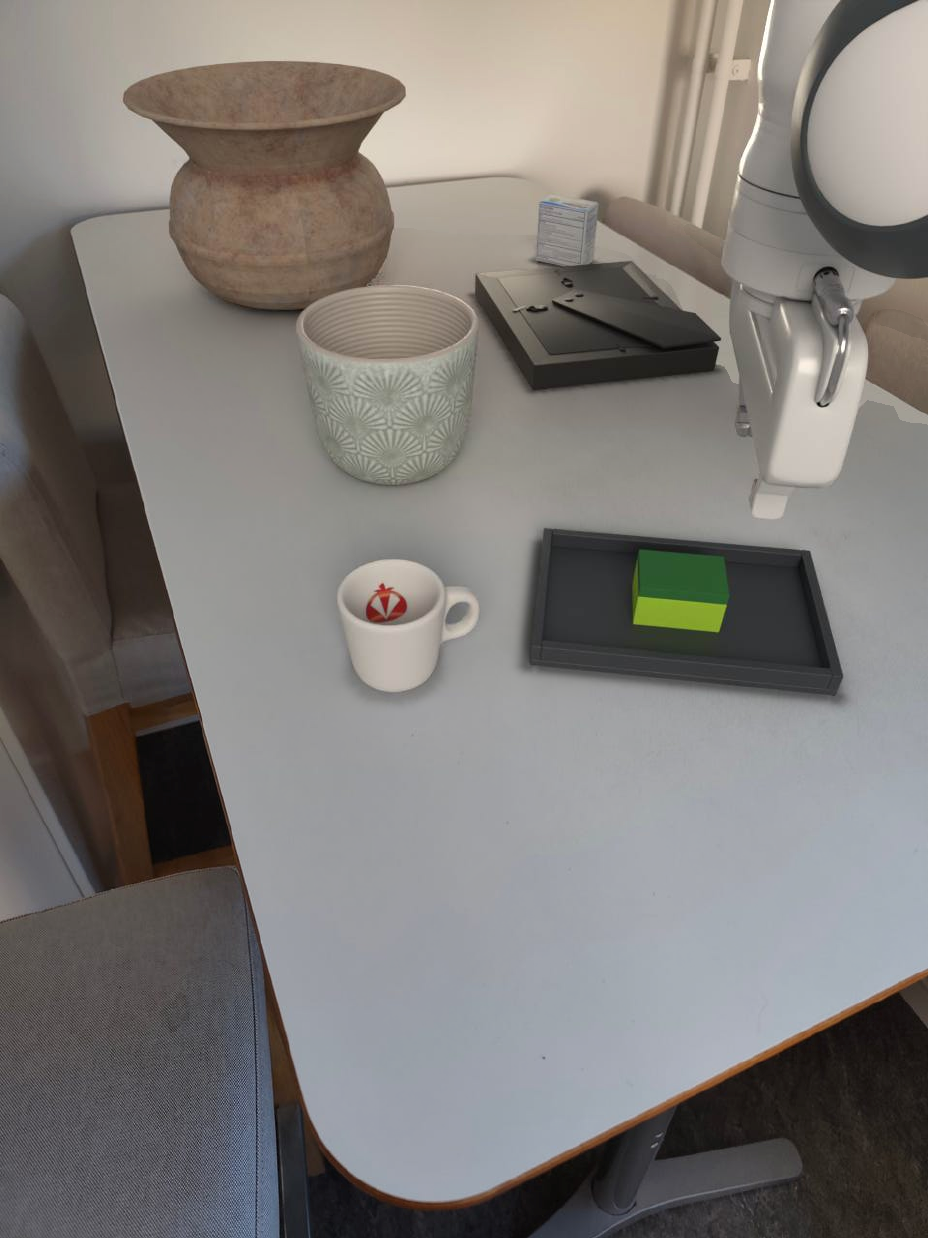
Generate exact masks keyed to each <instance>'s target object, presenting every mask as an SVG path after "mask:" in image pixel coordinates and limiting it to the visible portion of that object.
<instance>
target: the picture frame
mask: <svg viewBox="0 0 928 1238" xmlns="http://www.w3.org/2000/svg"><path fill="white" fill-rule="evenodd" d="M474 278H475V279H474V280H475V283H474V296H475V297H476V299H477V301H478V302H479V304H480V306H481V307H482V309H483V310H484V312H485V314H486V315H487V317H488V319H489V320H490V322H491V323H492V325H493V327H494V329H495V330H496V332H497V333H498V335H499V337H500V339H501V340H502V341H503V343H504V345H505V346H506V348H507V349H508V351H509V353H510V354H511V356H512V358H513V360H514V362H515V363H516V364H517V366H518V367H519V369H520V371H521V373H522V375H523V376H524V377H525V379H526V381H527V382H528V384H529V386H530V388H531V389H532V390H544V389H545V390H546V389H554V388H561V387H563V388H564V387H571V386H582V385H593V384H603V383H611V382H620V381H629V380H638V379H647V378H657V377H658V378H659V377H667V376H668V377H669V376H676V375H685V374H686V375H687V374H695V373H696V374H697V373H703V372H705V373H706V372H712V371H715V369H716V364H717V360H718V355H719V351H720V346H719V345H718V344H717V343H716V342H721V341H722V337H720V335H719V334H718V333H716V331H714V329H712V327H710V326H709V325H708V324H707V323H706V322H705V321H704V320H703V319H702V318H701V317H700V316H699V315H698V314H697V313H696V312H693V311H688V310H683V309H681V308H680V307H679V305H678V304H676V302H674V301H673V300H672V299H671V298H670V297H669V296H668V295H667V294H666V293H665V292H664V291H663V290H662V289H661V288H660V287H659V285H657V284H656V283H655V282H654V281H653V280H652V279H651V278H650V277H649V276H648V275H647V274H646V273H645V272H644V270H642V269H641V268H640V267H639V266H638V265H637V264H636V263H635V262H634V261H633V260H625V261H614V262H613V261H611V262H602V263H601V262H600V263H590V264H587V265H575V266H551V267H540V268H527V269H525V268H524V269H513V270H501V271H489V272H477V273H475V277H474Z"/></svg>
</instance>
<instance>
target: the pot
mask: <svg viewBox="0 0 928 1238" xmlns="http://www.w3.org/2000/svg"><path fill="white" fill-rule="evenodd" d="M406 96H407V90H406V86H405V85H404V84H403V83H402V82H401V80H400V79H397V78H396V77H394V76H392V75H390V74H388V73H384V72H381V71H378V70H376V69H370V68H366V67H362V66H361V67H360V66H355V65H350V64H349V65H348V64H342V63H331V62H320V61H303V60H302V61H301V60H299V61H298V60H261V61H260V60H259V61H239V62H238V61H237V62H226V63H214V64H207V65H198V66H193V67H187V68H180V69H175V70H171V71H166V72H162V73H158V74H155V75H152V76H148V77H146V78H142V79H141V80H139V81H137V82H135V83H133V84H130V85H129V87H128V88H126V89H125V90H124V92H123V95H122V102H123V104H124V105H125V107H126V108H127V110H129V111H131V112H132V113H135V114H136V115H138V116H140V117H142V118H145V119H148V120H151V121H152V122H153V123H154V124H156V125H157V126H158V128H159V129H161V130H162V131H163V133H165V134H166V135H167V136H168V137H169V138H170V139H171V140H173V142H175V143H176V144H177V145H178V146H179V147H180V148H181V149H182V150H183V151H184V152H185V153H186V155H187V157H188V159H187V160H186V161H185V162H184V163H183V164H182V165H181V167H179V169H178V171H177V172H176V174H175V175H174V178H173V181H172V183H171V186H170V187H171V188H170V195H169V220H168V233H169V237H170V238H171V239H172V241H173V242H174V244H175V246H176V249H177V252H178V254H179V256H180V258H181V260H182V262H183V264H184V266H185V267H186V269H187V271H188V272H189V273H190V274H191V276H192V277H193V278H194V279H195V281H197V282H198V284H199V285H200V286H202V287H203V288H205V289H206V290H207V291H209V292H210V293H212V294H213V295H215V296H216V297H218V298H220V299H221V300H224V301H226V302H230V303H233V304H236V305H239V306H243V307H248V308H253V309H257V310H258V309H259V310H267V311H268V310H269V311H295V310H304V309H306V308H307V307H308V306H309V305H311V304H312V303H314V302H315V301H317V300H319V299H321V298H323V297H326V296H328V295H331V294H334V293H337V292H340V291H344V290H348V289H353V288H359V287H366V286H367V285H369V284H370V283H371V282H372V281H373V280H374V279H375V278H376V277H377V275H378V274H379V272H380V270H381V268H382V267H383V265H384V263H385V261H386V259H387V257H388V254H389V249H390V246H391V241H392V239H391V238H392V234H393V230H394V228H395V213H394V211H393V210H392V205H391V199H390V196H389V193H388V192H389V191H388V189H387V186H386V183H385V181H384V179H383V177H382V175H381V174H380V171H379V170H378V168H377V167H376V165H375V163H374V162H372V161H371V160H370V159H369V158H368V157H367V156H365V155H364V154H362V153H361V152H360V148H361V146H362V144H363V142H364V141H365V139H367V138H366V137H368V135H369V134H370V133H371V131H372V130H373V128H374V127H375V125H376V124H377V123H378V122H379V120H380V119H381V117H382V116H383V115H384V114H385V112H387V111H390V110H391V109H393V108H395V107H397V106H398V105H400V104H401V103H402V102H403V101H404V99H405V98H406Z"/></svg>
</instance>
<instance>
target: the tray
mask: <svg viewBox="0 0 928 1238" xmlns="http://www.w3.org/2000/svg"><path fill="white" fill-rule="evenodd" d="M541 542H542V544H541V552H540V562H539V570H538V580H537V588H536V589H537V590H536V600H535V609H534V617H533V618H534V619H533V628H532V636H531V637H532V639H531V647H530V656H529V657H530V658H529V665H530V666H537V667H547V668H548V667H549V668H556V669H557V668H559V669H566V670H567V669H569V670H577V671H588V672H597V673H599V672H600V673H607V674H618V675H628V676H637V677H648V678H649V677H650V678H656V679H657V678H658V679H667V680H668V679H669V680H677V681H678V680H679V681H688V682H697V683H698V682H699V683H706V684H707V683H708V684H718V685H726V686H738V687H747V688H758V689H766V690H767V689H768V690H776V691H777V690H778V691H788V692H798V693H807V694H808V693H809V694H818V695H828V696H836V695H837V693H838V690H839V688H840V686H841V684H842V682H843V679H844V673H843V669H842V666H841V662H840V657H839V653H838V651H837V647H836V643H835V640H834V635H833V632H832V628H831V625H830V624H831V623H830V620H829V616H828V613H827V610H826V606H825V602H824V597H823V594H822V590H821V587H820V583H819V579H818V576H817V571H816V568H815V564H814V561H813V556H812V553H811V550H808V549H807V550H806V549H794V548H784V547H783V548H781V547H770V546H760V545H749V544H736V543H725V542H724V543H723V542H713V541H701V540H690V539H679V538H678V539H677V538H665V537H655V536H643V535H631V534H620V533H619V534H618V533H608V532H596V531H587V530H586V531H585V530H584V531H583V530H573V529H561V528H550V527H543V533H542V541H541ZM639 549H641V550H652V551H663V552H675V553H686V554H697V555H708V556H720V557H724V561H725V568H726V575H727V582H728V589H729V599H728V602H727V606H726V610H725V613H724V616H723V620H722V623H721V627H720V630H719V632H711V631H700V630H690V629H679V628H669V627H659V626H648V625H638V624H633V599H632V584H633V579H634V573H635V568H636V563H637V557H638V552H639Z"/></svg>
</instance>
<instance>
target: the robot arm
mask: <svg viewBox="0 0 928 1238" xmlns="http://www.w3.org/2000/svg"><path fill="white" fill-rule="evenodd" d="M757 89H758V91H757V92H758V105H757V113H756V118H755V123H754V126H753V130H752V133H751V136H750V138H749V139H748V142H747V144H746V147H745V149H744V151H743V154H742V155H741V158H740V161H739V165H738V171H737V175H736V180H735V184H734V185H735V186H734V190H733V194H732V195H733V196H732V201H731V208H730V210H729V211H730V212H729V216H728V223H727V229H726V233H725V237H724V243H723V244H724V245H723V248H722V253H721V259H720V265H721V268H722V270H723V272H724V273H725V274H726V275H727V277H729V278H731V289H730V298H729V314H728V317H729V318H728V325H729V326H728V327H729V336H730V339H731V343H732V349H733V353H734V357H735V362H736V367H737V372H738V389H737V390H738V391H737V403H736V408H735V412H734V418H733V423H734V429H735V432H736V435H737V436H739V437H741V438H746V437H749V438H752V442H753V444H754V445H753V446H754V450H755V455H756V459H757V465H758V468H759V469H758V470H759V474H758V477H757V478H753V481H752V484H751V488H750V494H749V496H748V501H749V507H750V512H751V515H752V517H753V518H755V519H756V520H757V519H758V520H771V521H777V520H779V519H781V518H782V517H783V516H784V514H785V510H786V507H787V504H788V501H789V497H790V496H791V495H792V494H793V492H794V491H795V489H796V488H797V489H826V488H828V487H830V486H831V485H832V484H833V483H834V482H835V481H836V479H837V478H838V477H839V475H840V473H841V472H842V469H843V466H844V462H845V459H846V456H847V452H848V449H849V445H850V441H851V438H852V434H853V431H854V428H855V424H856V420H857V415H858V411H859V408H860V404H861V401H862V400H861V399H862V396H863V392H864V388H865V384H866V379H867V378H866V377H867V373H868V372H867V371H868V365H869V343H868V340H867V336H866V333H865V331H864V330H863V328H862V325H861V323H860V321H859V320H858V318H857V315H858V314H859V313H860V310H861V306H862V304H863V300H869V299H872V298H875V297H878V296H880V295H883V294H885V293H886V292H888V291H889V290H890V289H892V288H893V286H894V284H895V283H896V280H897V279H901V280H915V279H925V278H926V279H927V278H928V0H770V4H769V8H768V13H767V17H766V21H765V28H764V32H763V37H762V41H761V47H760V53H759V57H758V64H757Z"/></svg>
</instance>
